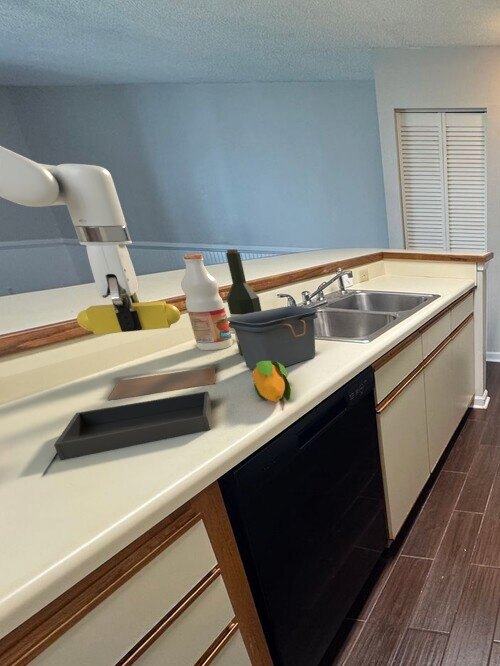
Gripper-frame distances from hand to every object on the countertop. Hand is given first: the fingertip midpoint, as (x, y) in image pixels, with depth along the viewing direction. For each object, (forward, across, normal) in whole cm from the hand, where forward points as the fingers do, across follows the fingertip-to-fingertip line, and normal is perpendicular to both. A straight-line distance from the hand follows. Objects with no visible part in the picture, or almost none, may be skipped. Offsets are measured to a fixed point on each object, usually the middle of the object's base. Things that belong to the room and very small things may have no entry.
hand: (134, 327), depth 88 cm
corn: (+18, +9, +23) cm, 30 cm away
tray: (+17, +15, 0) cm, 23 cm away
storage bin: (+18, -15, +27) cm, 36 cm away
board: (+17, -13, 0) cm, 22 cm away
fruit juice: (+18, -43, +10) cm, 47 cm away
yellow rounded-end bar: (0, 0, 0) cm, 0 cm away
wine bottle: (+18, -31, +20) cm, 41 cm away
